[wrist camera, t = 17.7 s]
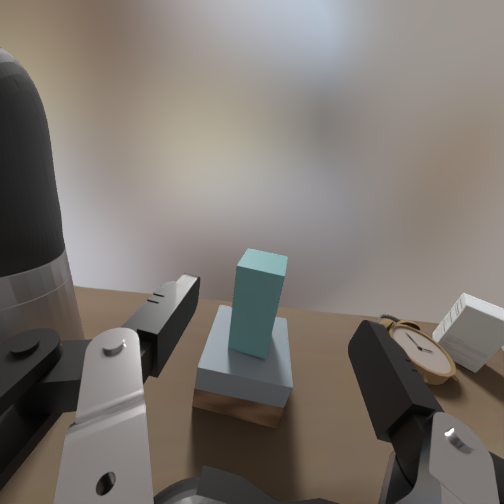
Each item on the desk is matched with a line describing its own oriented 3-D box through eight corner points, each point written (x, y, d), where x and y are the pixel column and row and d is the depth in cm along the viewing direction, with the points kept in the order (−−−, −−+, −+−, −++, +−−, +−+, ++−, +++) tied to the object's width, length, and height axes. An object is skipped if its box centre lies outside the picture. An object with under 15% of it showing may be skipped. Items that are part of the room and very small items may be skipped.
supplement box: (471, 354, 45) (511, 310, 40) (475, 374, 40) (522, 328, 35) (431, 333, 50) (463, 291, 44) (430, 349, 44) (466, 304, 39)
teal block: (227, 348, 26) (236, 265, 21) (238, 321, 30) (248, 248, 25) (265, 359, 25) (284, 276, 20) (271, 330, 29) (287, 256, 25)
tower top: (194, 388, 24) (197, 367, 23) (217, 322, 34) (220, 304, 33) (283, 408, 24) (292, 387, 23) (280, 336, 34) (286, 318, 33)
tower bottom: (192, 407, 26) (194, 389, 24) (216, 340, 36) (219, 323, 34) (275, 430, 26) (283, 412, 24) (276, 355, 36) (282, 339, 34)
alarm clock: (423, 379, 33) (371, 306, 45) (404, 391, 36) (359, 319, 48) (473, 377, 36) (411, 308, 48) (451, 389, 38) (398, 321, 50)
